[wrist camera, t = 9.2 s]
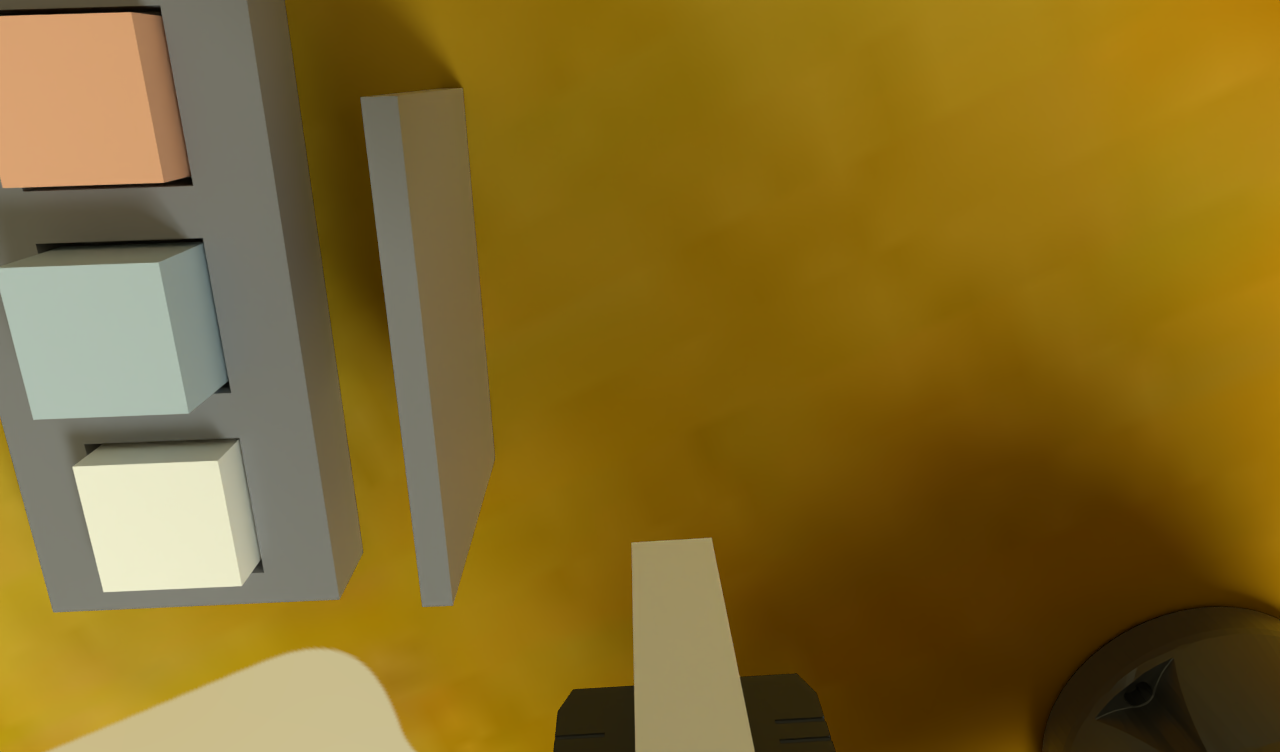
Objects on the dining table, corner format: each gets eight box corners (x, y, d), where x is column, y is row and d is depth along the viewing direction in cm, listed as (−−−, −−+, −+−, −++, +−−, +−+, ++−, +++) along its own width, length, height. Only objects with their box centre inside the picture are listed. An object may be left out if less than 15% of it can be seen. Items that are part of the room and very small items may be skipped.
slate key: (232, 377, 37) (188, 413, 33) (92, 383, 36) (33, 419, 33) (207, 241, 35) (158, 262, 31) (61, 246, 35) (-6, 268, 31)
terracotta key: (211, 170, 35) (164, 182, 32) (67, 175, 35) (2, 188, 31) (184, 18, 34) (131, 12, 30) (33, 23, 33) (-40, 17, 30)
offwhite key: (275, 537, 40) (242, 586, 37) (150, 543, 40) (103, 592, 37) (255, 422, 39) (217, 460, 35) (124, 427, 39) (72, 466, 35)
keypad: (502, 546, 43) (465, 718, 31) (102, 563, 42) (-82, 745, 31) (452, -37, 35) (377, -88, 23) (-42, -23, 34) (-363, -68, 23)
